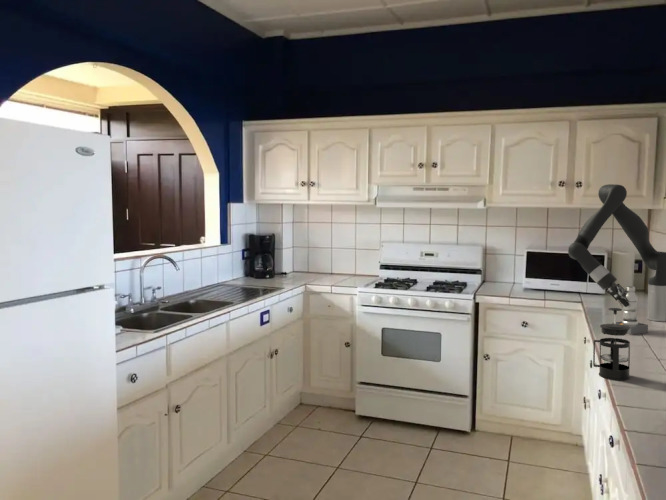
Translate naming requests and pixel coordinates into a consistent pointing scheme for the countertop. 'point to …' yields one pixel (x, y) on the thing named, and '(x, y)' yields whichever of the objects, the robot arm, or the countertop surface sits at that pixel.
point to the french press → (613, 351)
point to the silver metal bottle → (630, 307)
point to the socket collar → (636, 328)
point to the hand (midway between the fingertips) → (630, 304)
